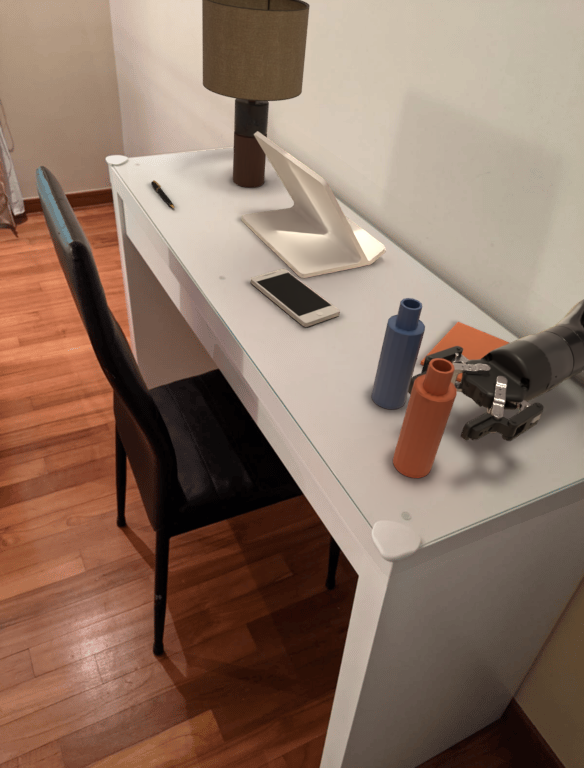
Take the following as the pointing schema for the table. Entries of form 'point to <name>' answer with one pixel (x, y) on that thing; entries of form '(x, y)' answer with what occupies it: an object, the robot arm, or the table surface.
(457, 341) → the terracotta mat
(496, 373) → the robot arm
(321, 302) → the smartphone
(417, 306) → the blue bottle
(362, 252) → the tablet stand
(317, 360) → the table surface
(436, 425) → the terracotta bottle
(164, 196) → the fountain pen
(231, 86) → the lamp
